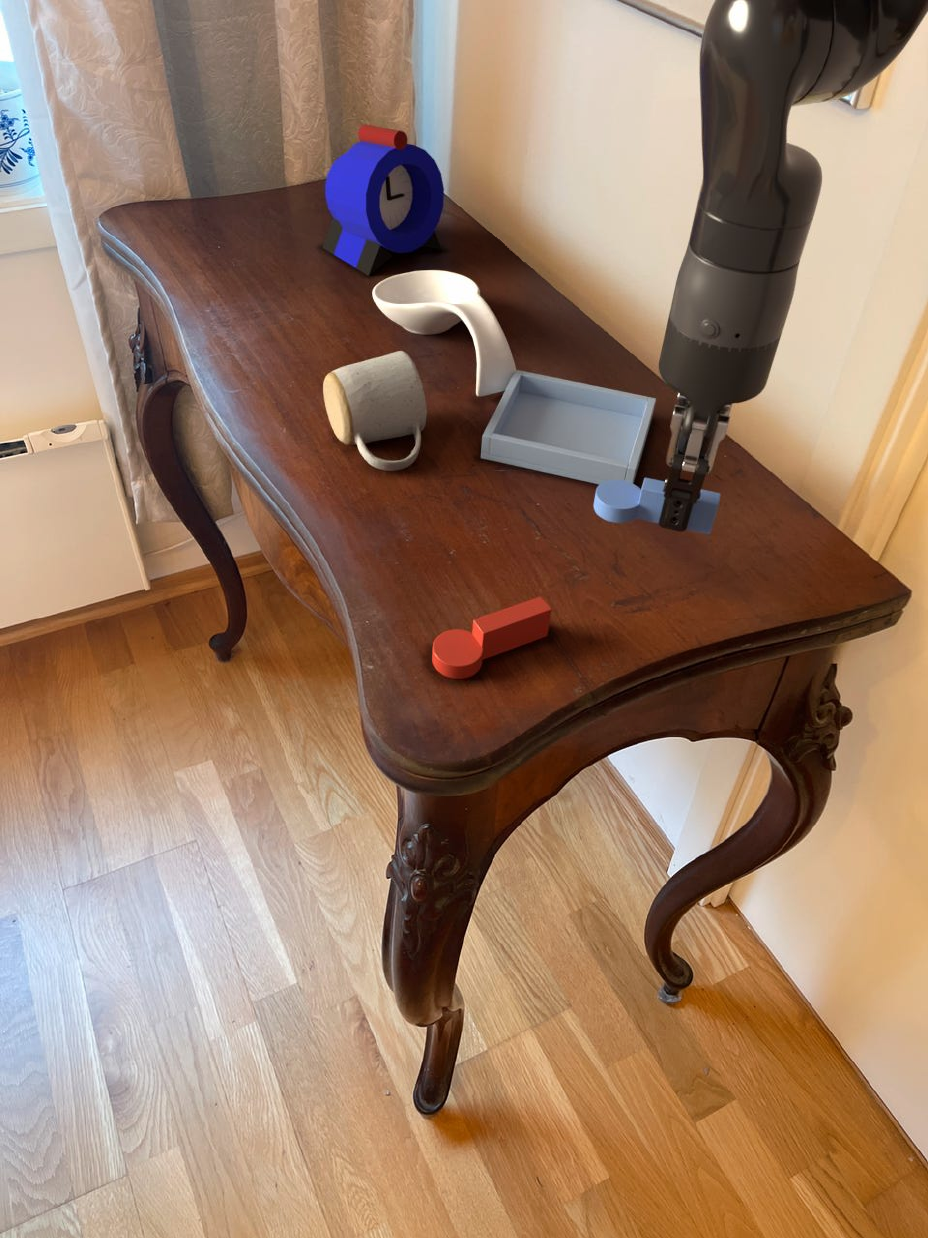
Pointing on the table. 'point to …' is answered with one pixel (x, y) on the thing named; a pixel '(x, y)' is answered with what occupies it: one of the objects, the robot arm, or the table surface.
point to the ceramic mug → (376, 405)
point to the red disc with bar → (490, 638)
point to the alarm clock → (382, 199)
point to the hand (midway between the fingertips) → (674, 518)
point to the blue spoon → (650, 504)
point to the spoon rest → (449, 318)
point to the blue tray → (568, 428)
